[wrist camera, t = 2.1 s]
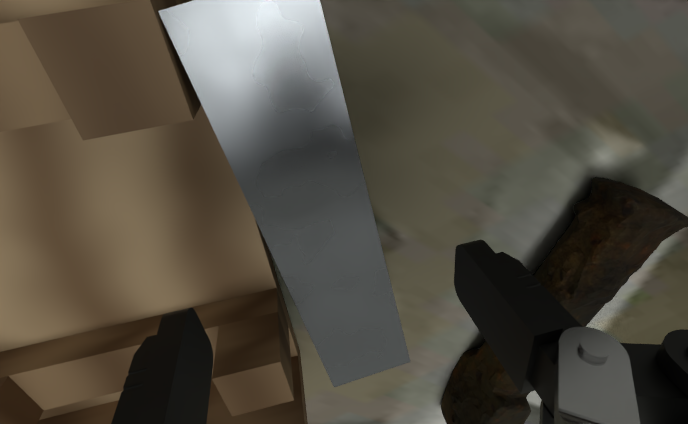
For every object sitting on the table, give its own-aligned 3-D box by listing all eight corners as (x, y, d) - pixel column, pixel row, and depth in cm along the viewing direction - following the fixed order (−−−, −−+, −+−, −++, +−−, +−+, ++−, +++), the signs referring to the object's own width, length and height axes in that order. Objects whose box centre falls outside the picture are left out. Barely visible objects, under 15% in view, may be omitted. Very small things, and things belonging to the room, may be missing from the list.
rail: (293, -27, 14) (311, -35, 9) (378, 281, 24) (410, 361, 18) (194, 3, 14) (157, 10, 9) (318, 301, 23) (333, 387, 18)
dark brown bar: (585, 161, 22) (673, 209, 17) (636, 184, 24) (728, 233, 19) (407, 398, 31) (432, 471, 26) (452, 403, 33) (484, 472, 28)
